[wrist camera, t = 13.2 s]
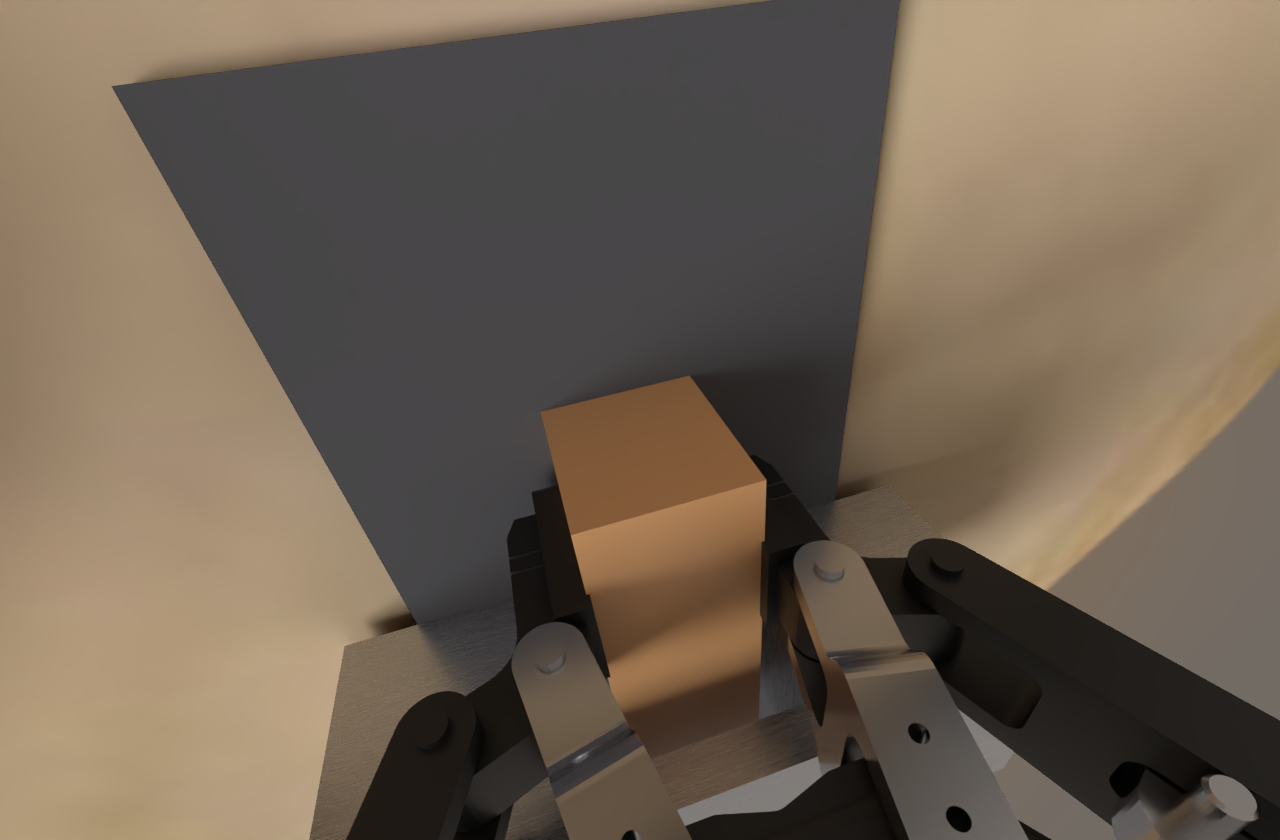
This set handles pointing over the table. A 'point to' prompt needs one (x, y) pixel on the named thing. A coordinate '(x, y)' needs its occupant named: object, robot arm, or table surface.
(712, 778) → the housing
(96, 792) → the table surface
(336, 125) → the mat
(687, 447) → the plug
